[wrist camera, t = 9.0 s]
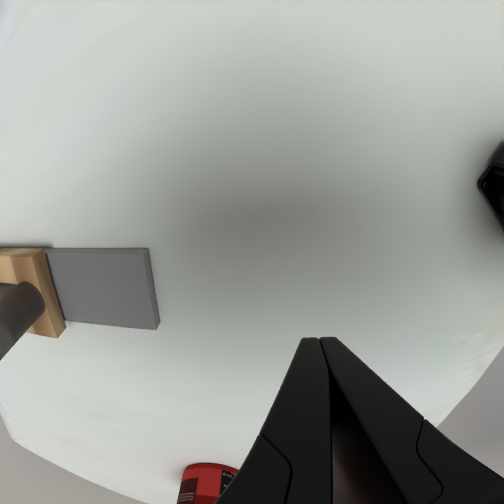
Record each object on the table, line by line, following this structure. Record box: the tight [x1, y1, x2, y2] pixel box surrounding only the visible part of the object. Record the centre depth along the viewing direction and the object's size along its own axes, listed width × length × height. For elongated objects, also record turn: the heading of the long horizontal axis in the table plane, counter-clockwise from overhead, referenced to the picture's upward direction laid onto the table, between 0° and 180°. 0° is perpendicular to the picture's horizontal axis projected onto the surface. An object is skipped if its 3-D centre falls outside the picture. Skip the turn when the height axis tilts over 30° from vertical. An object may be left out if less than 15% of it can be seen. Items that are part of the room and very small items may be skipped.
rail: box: [0, 248, 160, 330], centre depth 19 cm, size 16×6×7 cm, turn 90°
